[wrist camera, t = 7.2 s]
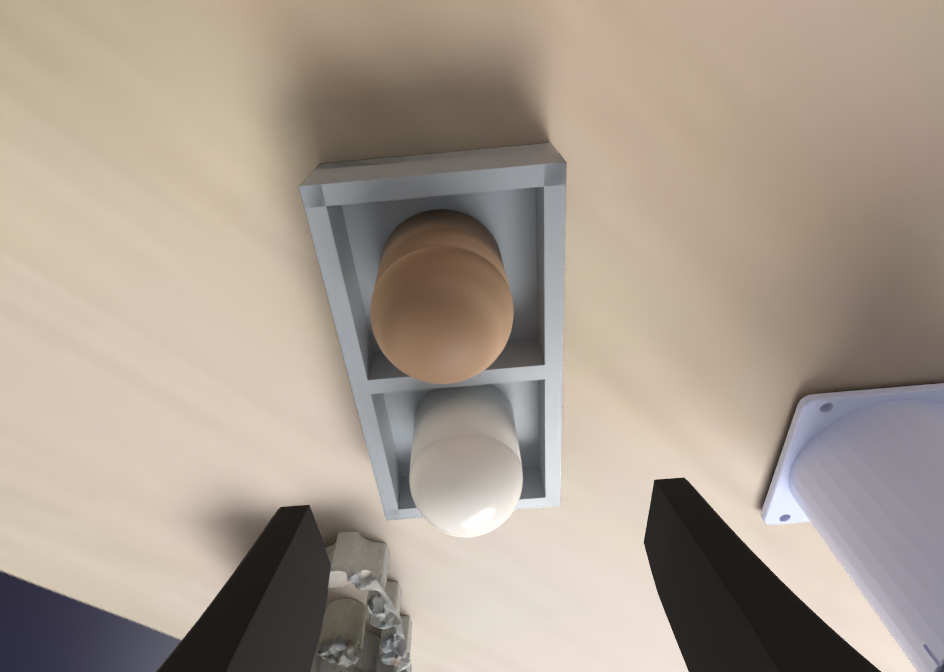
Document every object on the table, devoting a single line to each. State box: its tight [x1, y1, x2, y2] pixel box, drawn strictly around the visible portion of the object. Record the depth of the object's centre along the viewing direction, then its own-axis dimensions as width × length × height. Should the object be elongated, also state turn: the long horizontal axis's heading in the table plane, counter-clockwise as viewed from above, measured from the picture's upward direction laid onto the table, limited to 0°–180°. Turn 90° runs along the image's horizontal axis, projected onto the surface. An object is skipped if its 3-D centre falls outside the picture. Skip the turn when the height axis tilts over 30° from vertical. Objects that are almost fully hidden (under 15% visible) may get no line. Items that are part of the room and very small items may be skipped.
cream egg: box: [409, 384, 523, 537], centre depth 18 cm, size 4×4×5 cm
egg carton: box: [310, 531, 412, 672], centre depth 26 cm, size 11×8×4 cm
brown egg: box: [370, 209, 514, 384], centre depth 15 cm, size 4×4×5 cm
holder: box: [299, 143, 566, 520], centre depth 18 cm, size 7×14×2 cm, turn 5°
